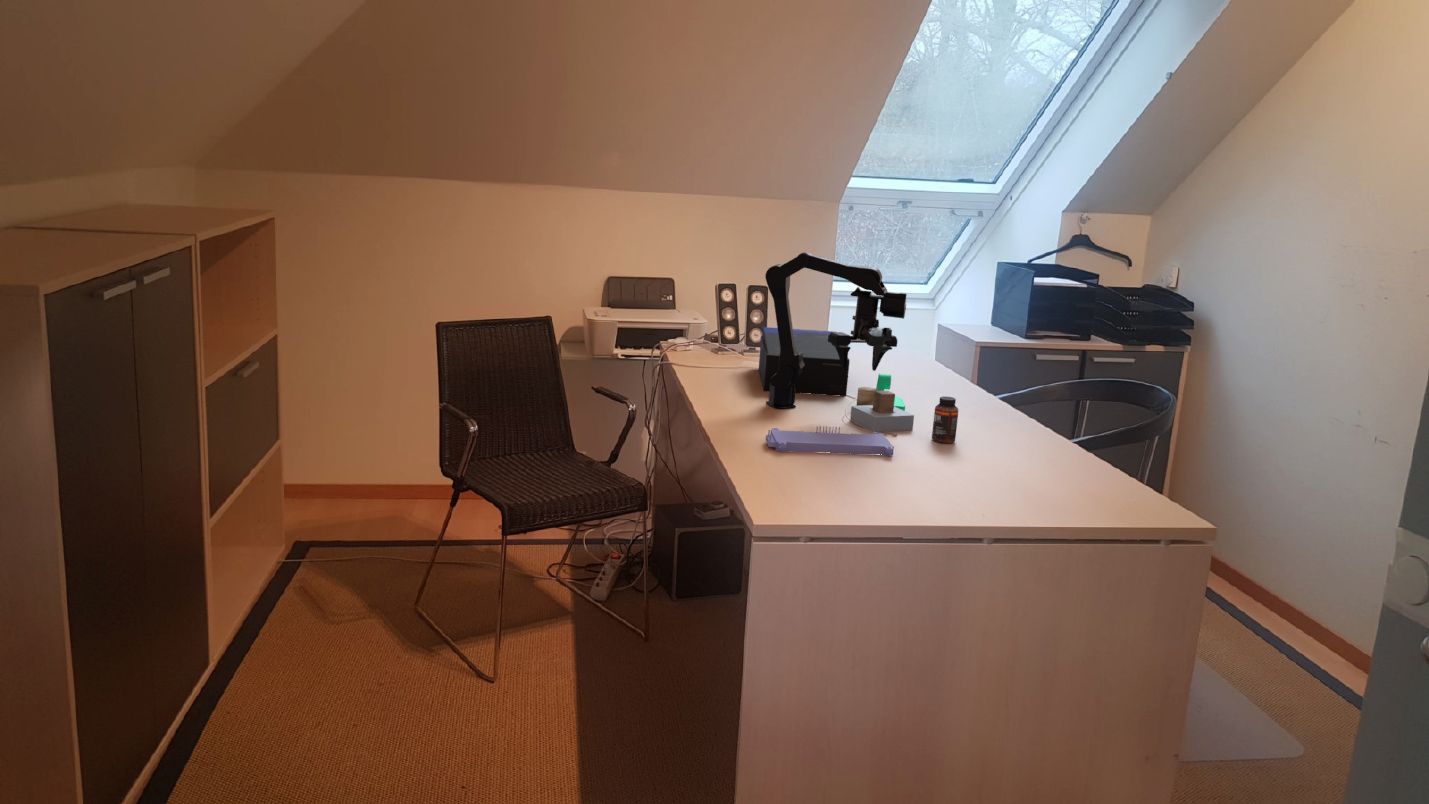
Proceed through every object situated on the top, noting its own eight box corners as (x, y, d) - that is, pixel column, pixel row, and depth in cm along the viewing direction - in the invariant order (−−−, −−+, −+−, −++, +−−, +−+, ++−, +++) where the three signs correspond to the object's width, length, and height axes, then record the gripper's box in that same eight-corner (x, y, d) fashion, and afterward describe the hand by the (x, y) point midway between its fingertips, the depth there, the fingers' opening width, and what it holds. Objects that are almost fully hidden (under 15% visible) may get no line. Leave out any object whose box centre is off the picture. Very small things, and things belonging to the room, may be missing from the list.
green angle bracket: (904, 415, 294) (908, 380, 291) (877, 413, 294) (880, 377, 292) (900, 405, 305) (904, 371, 303) (874, 403, 306) (877, 369, 303)
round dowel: (862, 412, 293) (864, 391, 292) (852, 407, 298) (854, 387, 297) (879, 412, 296) (881, 391, 294) (869, 407, 301) (871, 386, 299)
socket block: (873, 432, 273) (875, 417, 272) (850, 420, 284) (851, 405, 283) (912, 429, 278) (914, 415, 277) (888, 418, 289) (889, 404, 288)
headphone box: (832, 372, 347) (836, 330, 343) (846, 397, 313) (850, 349, 309) (758, 368, 346) (761, 325, 343) (763, 391, 312) (767, 344, 309)
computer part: (762, 438, 262) (770, 454, 248) (763, 421, 261) (771, 437, 247) (880, 443, 265) (894, 460, 250) (882, 426, 264) (896, 442, 249)
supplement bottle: (956, 440, 271) (961, 397, 268) (953, 445, 265) (958, 401, 263) (933, 436, 273) (937, 394, 270) (929, 441, 267) (934, 398, 264)
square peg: (871, 423, 282) (874, 390, 280) (884, 423, 283) (887, 390, 281) (878, 427, 278) (882, 394, 276) (891, 426, 280) (895, 394, 278)
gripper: (850, 318, 273) (842, 377, 277) (911, 320, 280) (903, 377, 284) (830, 311, 283) (823, 367, 287) (890, 312, 290) (883, 368, 294)
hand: (859, 370), depth 288 cm, fingers open, 9 cm apart
